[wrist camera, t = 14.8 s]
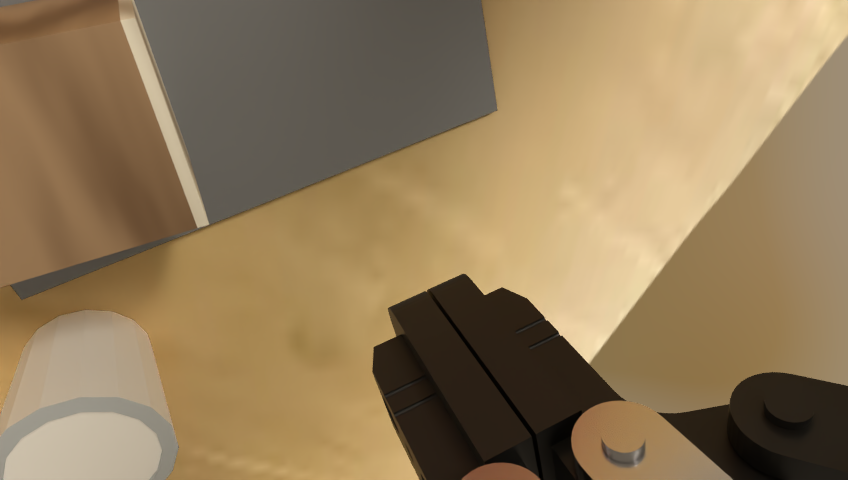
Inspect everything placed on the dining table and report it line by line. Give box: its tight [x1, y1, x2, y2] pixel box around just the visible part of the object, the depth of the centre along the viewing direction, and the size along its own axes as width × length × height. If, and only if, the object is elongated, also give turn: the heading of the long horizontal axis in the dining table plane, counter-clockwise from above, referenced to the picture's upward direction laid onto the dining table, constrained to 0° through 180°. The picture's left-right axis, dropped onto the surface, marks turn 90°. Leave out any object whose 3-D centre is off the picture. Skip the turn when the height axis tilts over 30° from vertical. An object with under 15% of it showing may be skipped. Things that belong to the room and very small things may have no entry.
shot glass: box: [0, 310, 179, 480], centre depth 27 cm, size 7×7×7 cm
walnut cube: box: [0, 0, 209, 288], centre depth 21 cm, size 7×7×7 cm
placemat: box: [0, 0, 497, 300], centre depth 26 cm, size 24×13×1 cm, turn 103°
